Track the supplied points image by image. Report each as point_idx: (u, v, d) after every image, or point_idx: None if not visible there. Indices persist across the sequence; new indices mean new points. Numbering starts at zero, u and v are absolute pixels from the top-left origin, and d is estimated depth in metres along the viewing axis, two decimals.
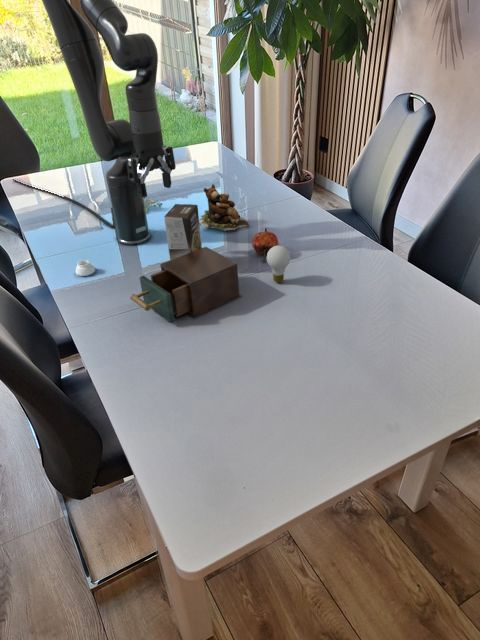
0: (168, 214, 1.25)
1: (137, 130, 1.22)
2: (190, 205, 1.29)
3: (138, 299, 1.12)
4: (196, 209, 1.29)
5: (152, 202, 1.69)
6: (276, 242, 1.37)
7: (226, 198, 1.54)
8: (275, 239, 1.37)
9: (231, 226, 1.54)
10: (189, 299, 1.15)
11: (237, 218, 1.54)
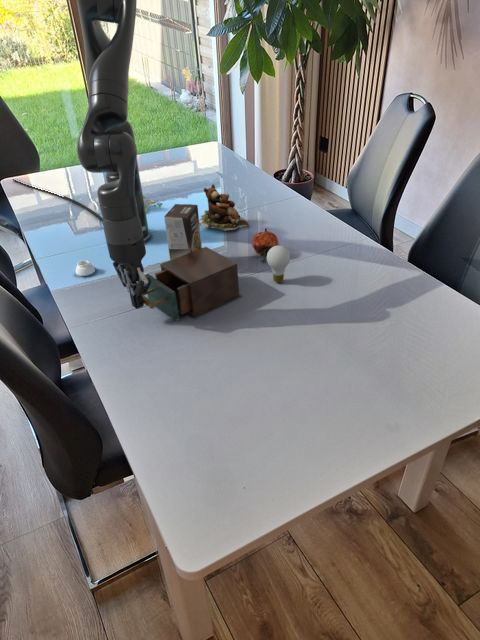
0: (168, 214, 1.25)
1: (137, 237, 1.00)
2: (190, 205, 1.29)
3: (143, 297, 1.13)
4: (196, 209, 1.29)
5: (152, 202, 1.69)
6: (276, 242, 1.37)
7: (226, 198, 1.54)
8: (275, 239, 1.37)
9: (231, 226, 1.54)
10: None
11: (237, 218, 1.54)
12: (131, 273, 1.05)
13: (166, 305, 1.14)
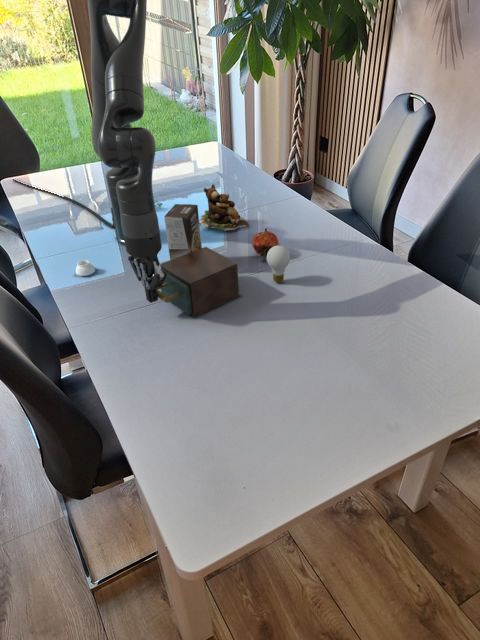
0: (168, 214, 1.25)
1: (154, 231, 1.03)
2: (190, 205, 1.29)
3: (157, 291, 1.15)
4: (196, 209, 1.29)
5: None
6: (276, 242, 1.37)
7: (226, 198, 1.54)
8: (275, 239, 1.37)
9: (231, 226, 1.54)
10: None
11: (237, 218, 1.54)
12: (147, 266, 1.07)
13: (180, 299, 1.16)
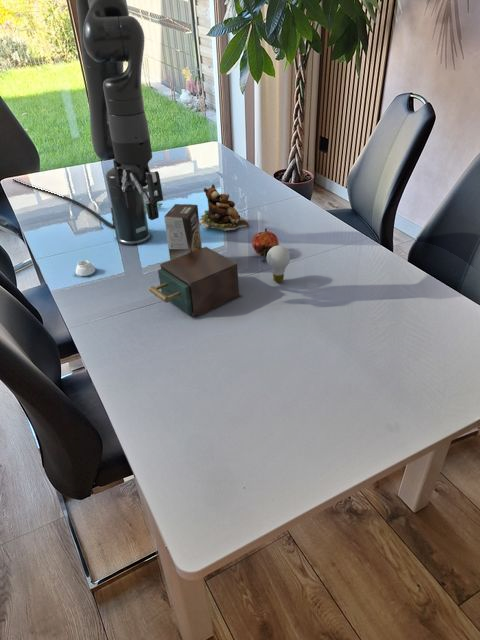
0: (168, 214, 1.25)
1: (144, 136, 0.98)
2: (190, 205, 1.29)
3: (157, 291, 1.15)
4: (196, 209, 1.29)
5: None
6: (276, 242, 1.37)
7: (226, 198, 1.54)
8: (275, 239, 1.37)
9: (231, 226, 1.54)
10: None
11: (237, 218, 1.54)
12: (137, 177, 1.03)
13: (180, 299, 1.16)
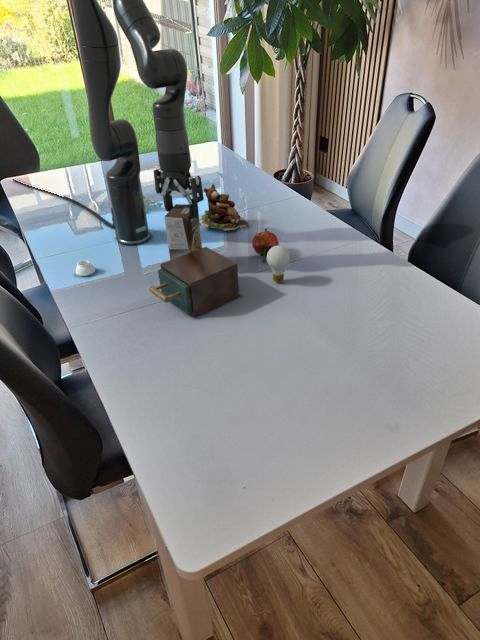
0: (168, 214, 1.25)
1: (187, 147, 1.17)
2: None
3: (157, 291, 1.15)
4: None
5: (152, 202, 1.69)
6: (276, 242, 1.37)
7: (226, 198, 1.54)
8: (275, 239, 1.37)
9: (231, 226, 1.54)
10: None
11: (237, 218, 1.54)
12: (180, 182, 1.21)
13: (180, 299, 1.16)
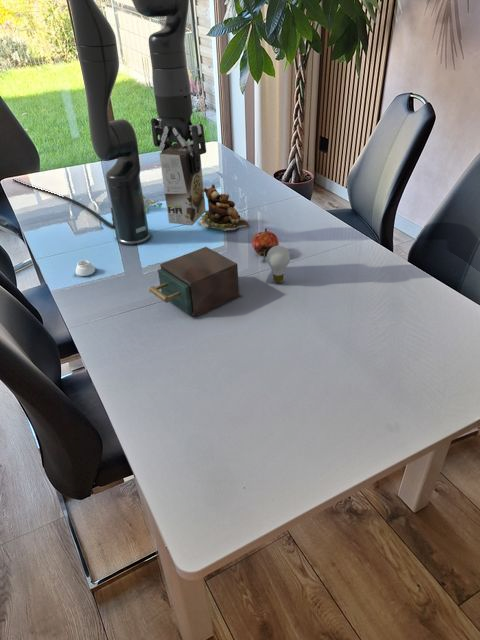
0: (164, 151, 1.10)
1: (188, 89, 1.03)
2: None
3: (157, 291, 1.15)
4: None
5: (152, 202, 1.69)
6: (276, 242, 1.37)
7: (226, 198, 1.54)
8: (275, 239, 1.37)
9: (231, 226, 1.54)
10: None
11: (237, 218, 1.54)
12: (180, 131, 1.07)
13: (180, 299, 1.16)
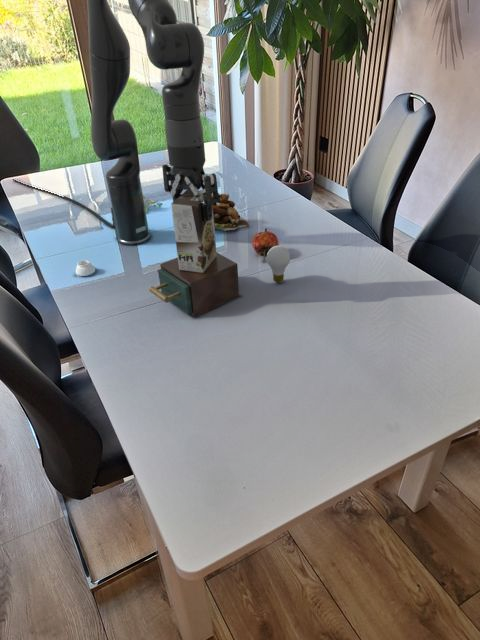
0: (176, 201, 1.08)
1: (201, 140, 1.00)
2: None
3: (157, 291, 1.15)
4: None
5: (152, 202, 1.69)
6: (276, 242, 1.37)
7: (226, 198, 1.54)
8: (275, 239, 1.37)
9: (231, 226, 1.54)
10: None
11: (237, 218, 1.54)
12: (192, 180, 1.05)
13: (180, 299, 1.16)
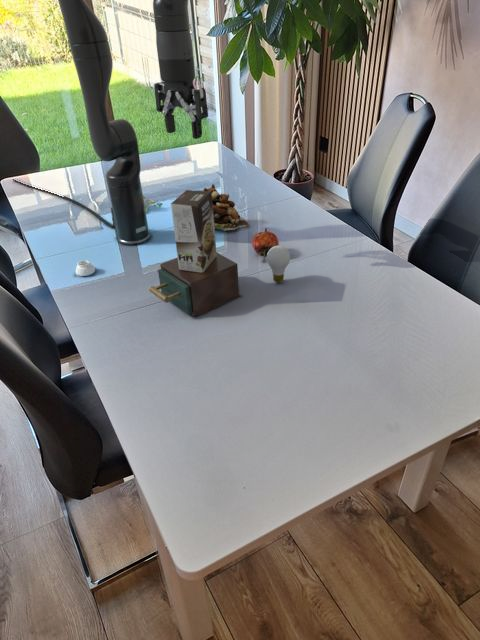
0: (176, 201, 1.08)
1: (191, 53, 1.05)
2: (203, 192, 1.12)
3: (157, 291, 1.15)
4: (209, 197, 1.11)
5: (152, 202, 1.69)
6: (276, 242, 1.37)
7: (226, 198, 1.54)
8: (275, 239, 1.37)
9: (231, 226, 1.54)
10: None
11: (237, 218, 1.54)
12: (182, 95, 1.09)
13: (180, 299, 1.16)
